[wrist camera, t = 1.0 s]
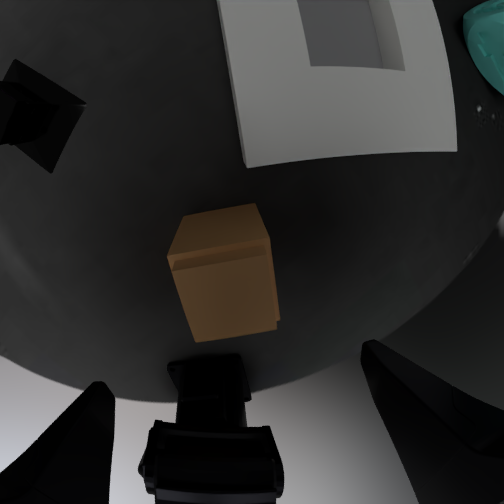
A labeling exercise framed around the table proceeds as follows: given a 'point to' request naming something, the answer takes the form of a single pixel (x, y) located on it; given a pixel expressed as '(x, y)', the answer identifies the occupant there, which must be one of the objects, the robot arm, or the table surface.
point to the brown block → (225, 273)
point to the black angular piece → (36, 114)
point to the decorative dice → (487, 40)
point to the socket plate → (337, 78)
